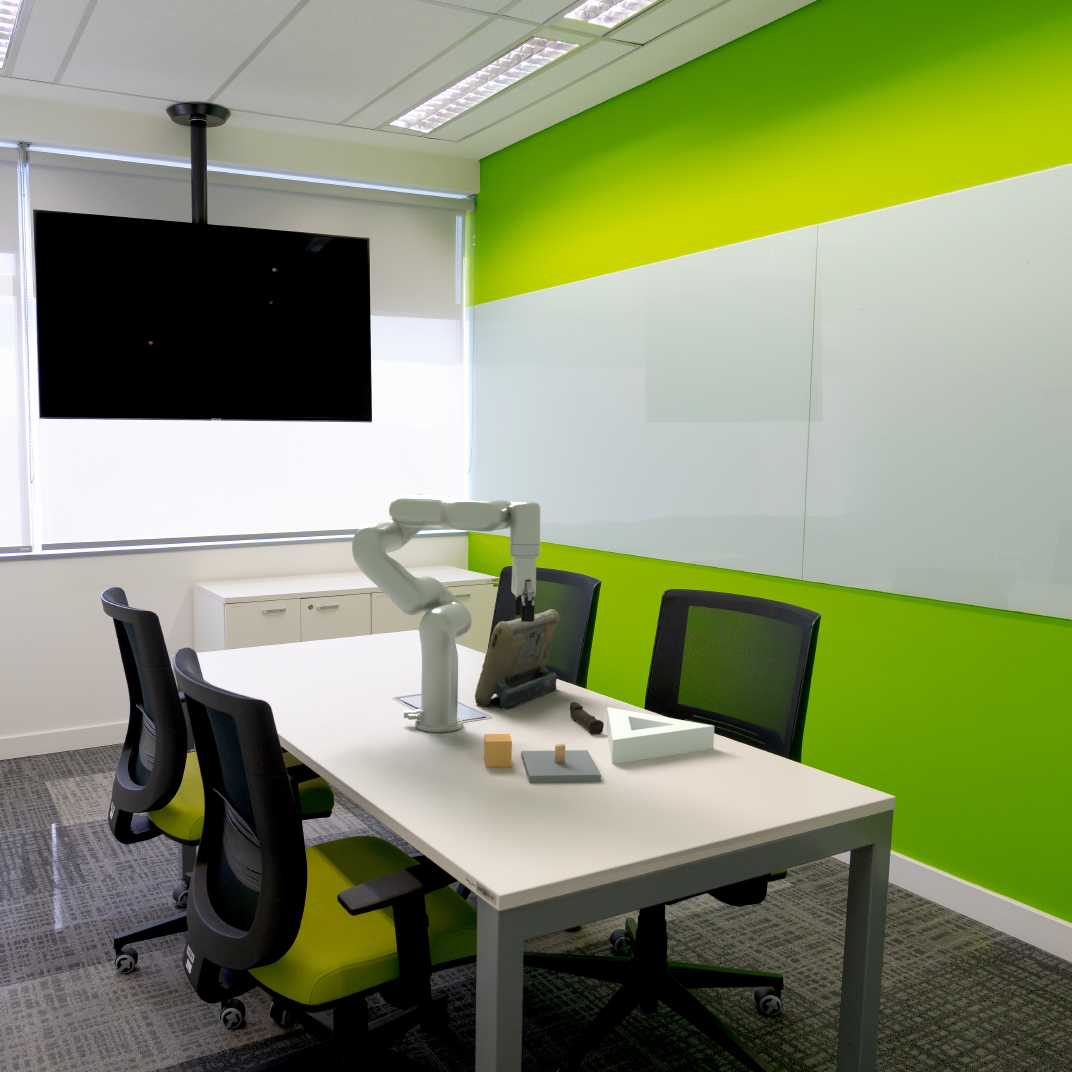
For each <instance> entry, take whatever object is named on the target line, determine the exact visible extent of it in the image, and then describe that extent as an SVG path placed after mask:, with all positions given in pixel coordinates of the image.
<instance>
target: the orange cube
mask: <svg viewBox="0 0 1072 1072" xmlns="http://www.w3.org/2000/svg"><path fill="white" fill-rule="evenodd" d="M483 735H484V736H483V762H484V766H485V768H498V767H500V768H505V767H506V768H507V767H508V768H509V767H512V756H513V755H512V751H513V740H512V737H511V733H484V734H483Z"/></svg>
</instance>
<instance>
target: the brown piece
mask: <svg viewBox="0 0 1072 1072" xmlns="http://www.w3.org/2000/svg"><path fill="white" fill-rule="evenodd" d="M569 711H570V712H569V713H570V718H571V719H572V721H573V722H578V723H579V724H580V725H582V726H583V727H584V728H586V730H588V732H589V734H590V735H592V736H593V735H594V736H595V735H600V734H602V733H603V731H604V725H605V724H604V722H603V721H602V720H601V719H597V718H596V716H595V715H592V714H590V713H588V712H587V711H586V710H584V706H583V705H581V704H580V703H579V702H576V701H571V702H570V704H569Z"/></svg>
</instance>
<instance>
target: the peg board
mask: <svg viewBox="0 0 1072 1072" xmlns="http://www.w3.org/2000/svg"><path fill="white" fill-rule="evenodd" d="M520 754H521V755H520V756H521V757H520V758H521V760H522V765H523V767H524V771H525V773H526V776H527V779H528V782H529V783H568V782H570V783H572V782H573V783H577V782H601V781H602V774H601V772H600V770H599V769H598V766H597V765H596V763H595V760H594V759H593V757H592V756H591V754H590V753H589V751H588V749H579V750H578V749H577V750H575V749H573V750H571V749H570V750H566V744H563V743H556V744H554V750H521V751H520Z"/></svg>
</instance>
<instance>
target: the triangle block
mask: <svg viewBox="0 0 1072 1072" xmlns="http://www.w3.org/2000/svg"><path fill="white" fill-rule="evenodd" d="M606 709H607V713H606V714H607V715H606V716H607V717H606V731H607V737H608V738H607V739H608V745H609V750H610V751H609V753H610V759H611V765H613V764H619V763H626V762H632V761H633V762H634V761H641V760H645V759H653V758H659V757H666V756H673V755H679V754H685V753H693V752H698V751H704V750H712V749H714V747H715V746H714V745H715V725H712V724H706V723H700V722H695V721H689V720H684V719H683V720H682V719H677V718H672V717H666V716H659V715H655V714H650V713H649V714H648V713H643V712H637V711H632V710H631V711H630V710H627V709H626V710H625V709H619V708H616V707H615V708H614V707H609V706H607V708H606Z"/></svg>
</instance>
